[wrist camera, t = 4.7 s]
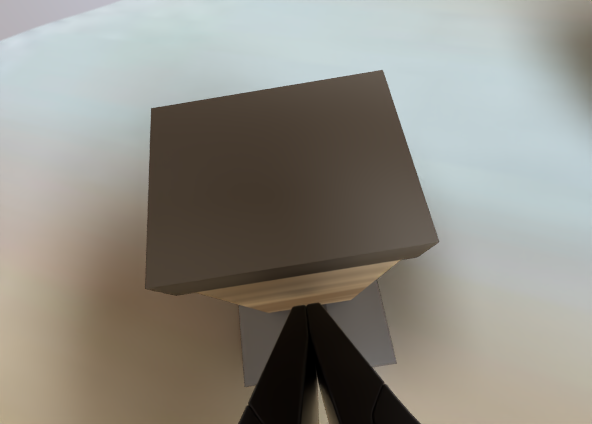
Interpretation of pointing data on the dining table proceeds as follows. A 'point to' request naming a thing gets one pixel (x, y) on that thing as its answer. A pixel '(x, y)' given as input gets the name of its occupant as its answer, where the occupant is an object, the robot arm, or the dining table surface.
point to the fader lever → (283, 194)
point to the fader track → (347, 314)
